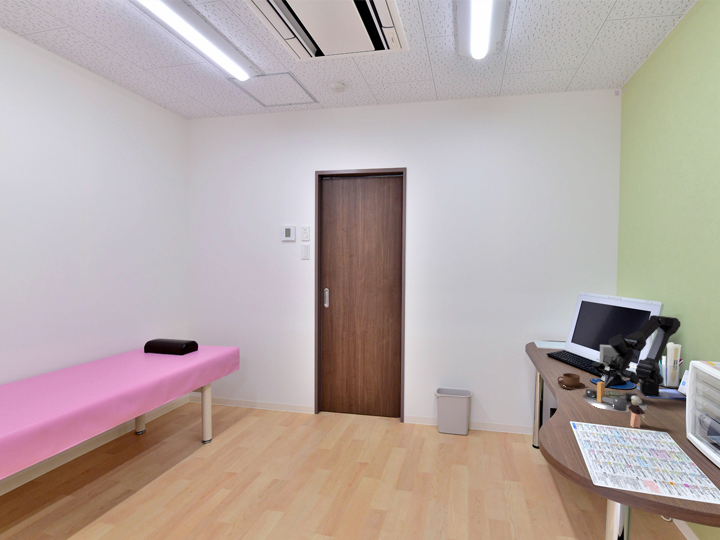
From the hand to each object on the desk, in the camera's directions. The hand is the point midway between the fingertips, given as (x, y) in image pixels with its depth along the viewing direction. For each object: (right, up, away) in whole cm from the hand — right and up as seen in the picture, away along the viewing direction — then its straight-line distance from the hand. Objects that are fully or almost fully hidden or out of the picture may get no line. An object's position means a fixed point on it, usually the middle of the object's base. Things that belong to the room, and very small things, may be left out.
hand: (605, 387), depth 175 cm
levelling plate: (+4, -7, 0) cm, 8 cm away
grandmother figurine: (-4, -9, -25) cm, 27 cm away
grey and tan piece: (0, -6, -5) cm, 8 cm away
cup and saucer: (-3, -7, +22) cm, 23 cm away
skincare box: (+27, -5, +41) cm, 49 cm away
